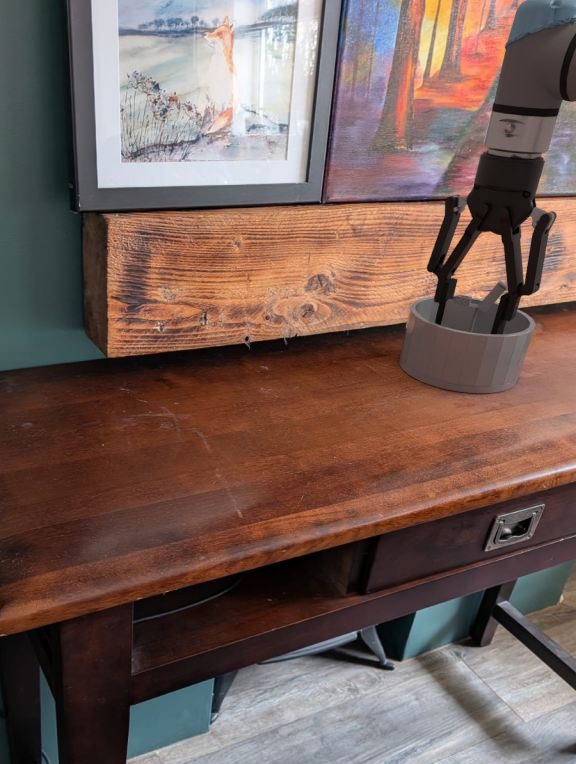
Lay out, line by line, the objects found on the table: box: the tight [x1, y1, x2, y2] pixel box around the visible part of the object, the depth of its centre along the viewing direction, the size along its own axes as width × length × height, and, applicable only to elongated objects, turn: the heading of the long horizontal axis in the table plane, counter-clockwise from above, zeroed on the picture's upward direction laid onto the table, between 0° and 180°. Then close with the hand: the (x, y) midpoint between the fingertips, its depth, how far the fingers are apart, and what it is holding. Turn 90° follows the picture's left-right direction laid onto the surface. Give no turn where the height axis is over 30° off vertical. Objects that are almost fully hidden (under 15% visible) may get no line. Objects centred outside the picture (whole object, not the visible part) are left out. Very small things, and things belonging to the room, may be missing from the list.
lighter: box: [441, 280, 508, 333], centre depth 101 cm, size 7×2×8 cm, turn 61°
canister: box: [398, 295, 536, 394], centre depth 104 cm, size 16×16×8 cm
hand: (466, 333), depth 103 cm, fingers closed on lighter, 7 cm apart
